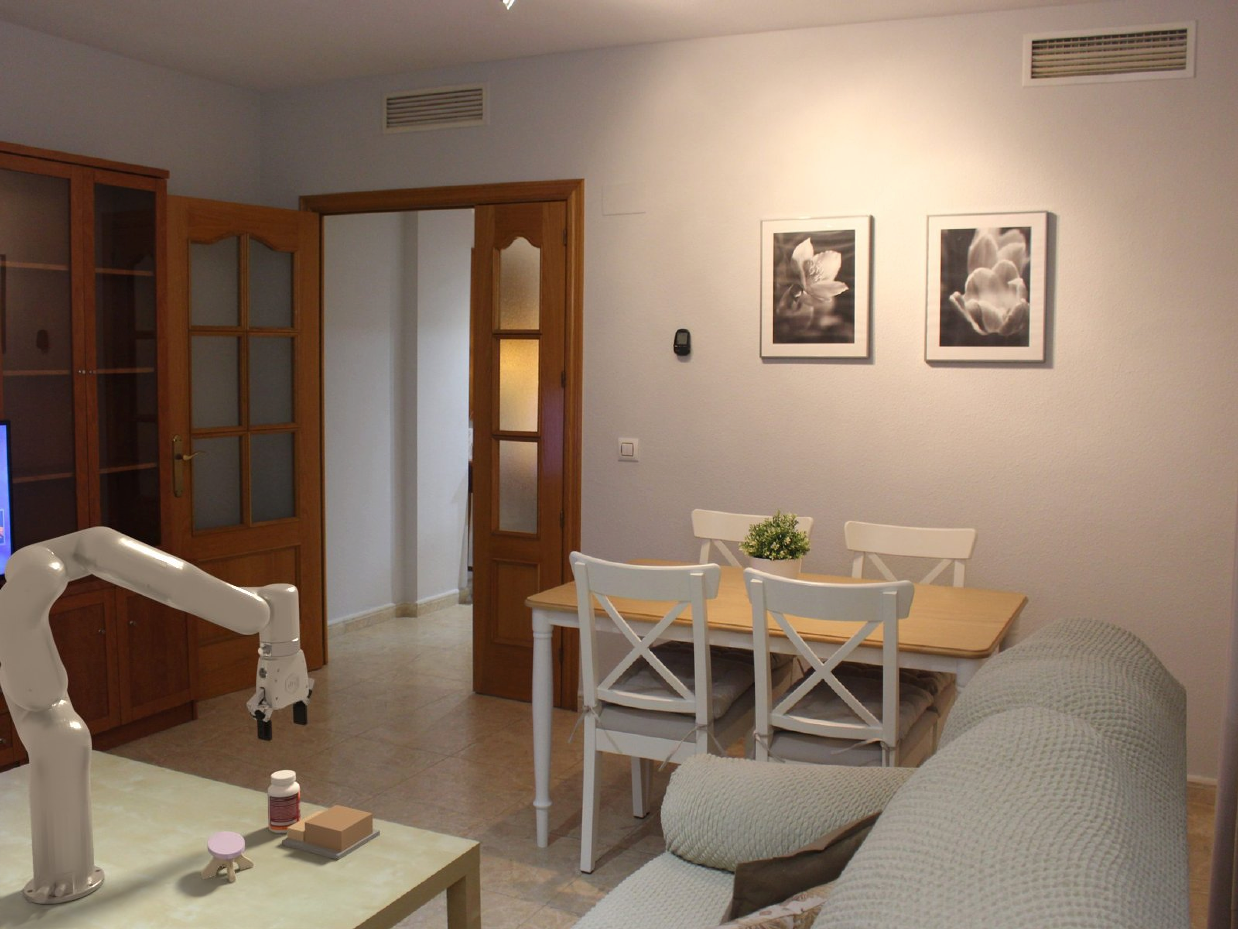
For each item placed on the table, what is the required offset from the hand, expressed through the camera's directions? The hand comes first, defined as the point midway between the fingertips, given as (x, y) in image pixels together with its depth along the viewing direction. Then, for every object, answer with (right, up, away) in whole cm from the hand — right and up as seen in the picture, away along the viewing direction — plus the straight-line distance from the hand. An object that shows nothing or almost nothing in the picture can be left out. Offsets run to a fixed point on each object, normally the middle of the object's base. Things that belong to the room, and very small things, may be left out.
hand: (283, 731), depth 210 cm
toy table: (-5, -22, -17) cm, 28 cm away
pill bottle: (0, -20, +2) cm, 20 cm away
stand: (+10, -20, -4) cm, 23 cm away
